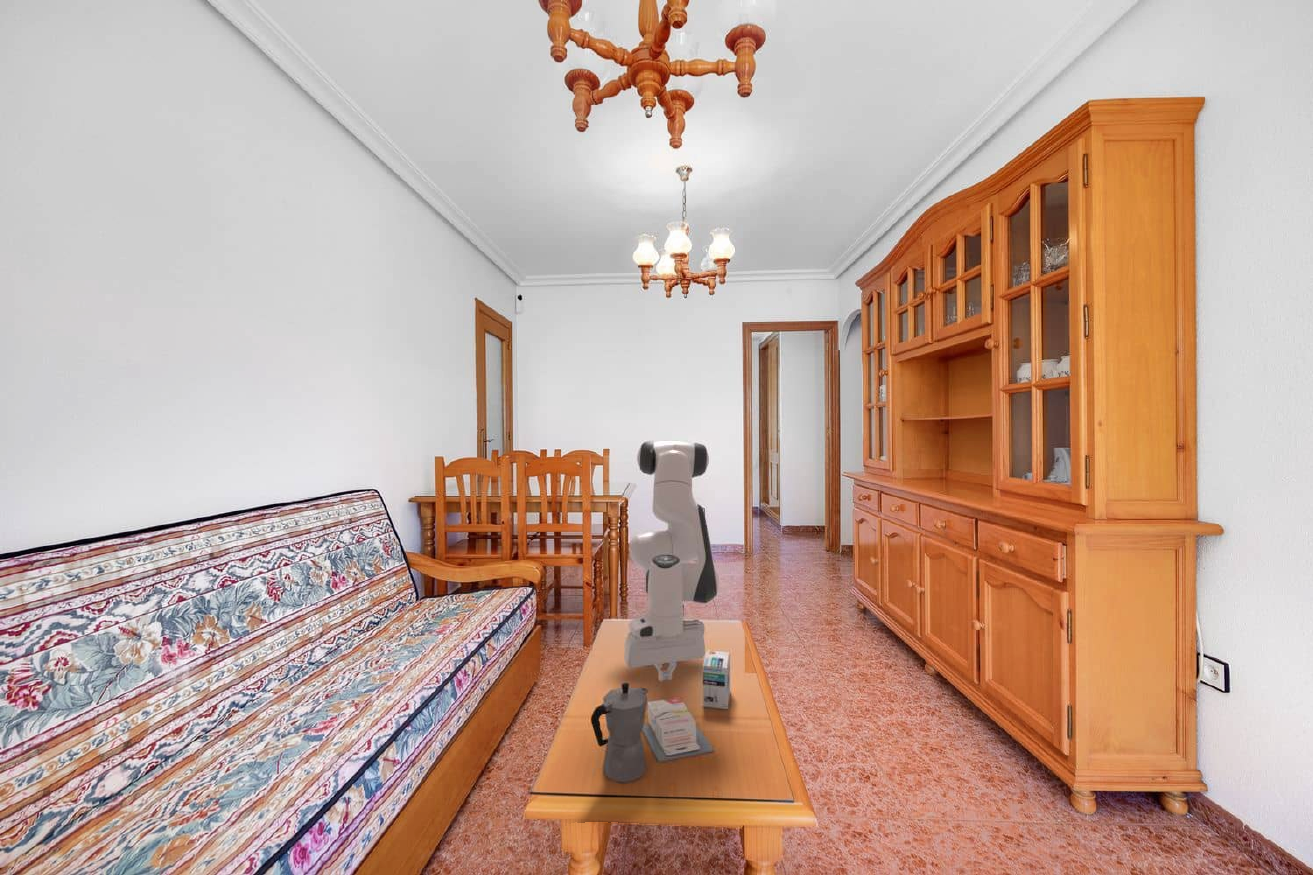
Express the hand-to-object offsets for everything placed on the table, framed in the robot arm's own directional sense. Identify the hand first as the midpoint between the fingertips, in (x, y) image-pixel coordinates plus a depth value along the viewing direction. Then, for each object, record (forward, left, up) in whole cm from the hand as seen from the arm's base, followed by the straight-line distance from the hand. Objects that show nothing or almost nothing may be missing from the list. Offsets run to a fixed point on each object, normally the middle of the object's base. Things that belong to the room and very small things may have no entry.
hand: (665, 679), depth 127 cm
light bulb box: (-7, +17, -11) cm, 21 cm away
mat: (+8, 0, -10) cm, 13 cm away
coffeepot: (+15, -15, -11) cm, 24 cm away
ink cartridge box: (-1, 0, -7) cm, 7 cm away
